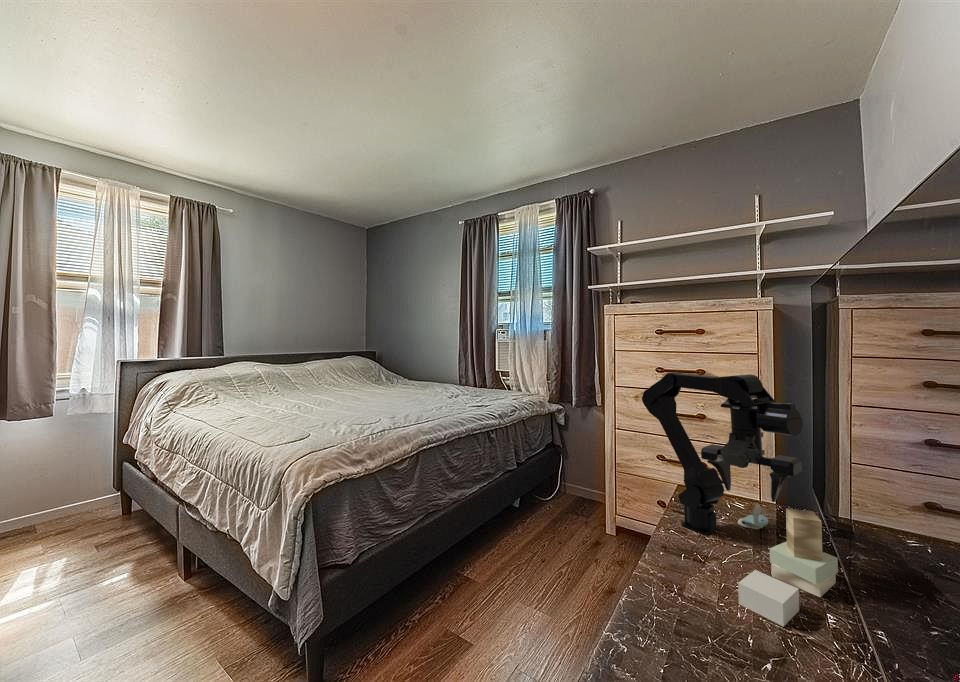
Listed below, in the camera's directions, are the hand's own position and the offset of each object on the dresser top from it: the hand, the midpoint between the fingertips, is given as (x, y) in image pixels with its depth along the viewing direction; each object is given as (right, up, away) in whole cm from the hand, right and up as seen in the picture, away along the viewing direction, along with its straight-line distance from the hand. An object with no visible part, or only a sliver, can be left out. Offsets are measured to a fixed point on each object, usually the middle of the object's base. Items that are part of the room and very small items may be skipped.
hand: (750, 495), depth 89 cm
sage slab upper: (+3, -11, -10) cm, 15 cm away
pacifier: (+9, -13, +12) cm, 20 cm away
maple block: (+4, -8, -11) cm, 13 cm away
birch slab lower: (+4, -14, -10) cm, 17 cm away
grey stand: (-9, -13, -18) cm, 24 cm away
